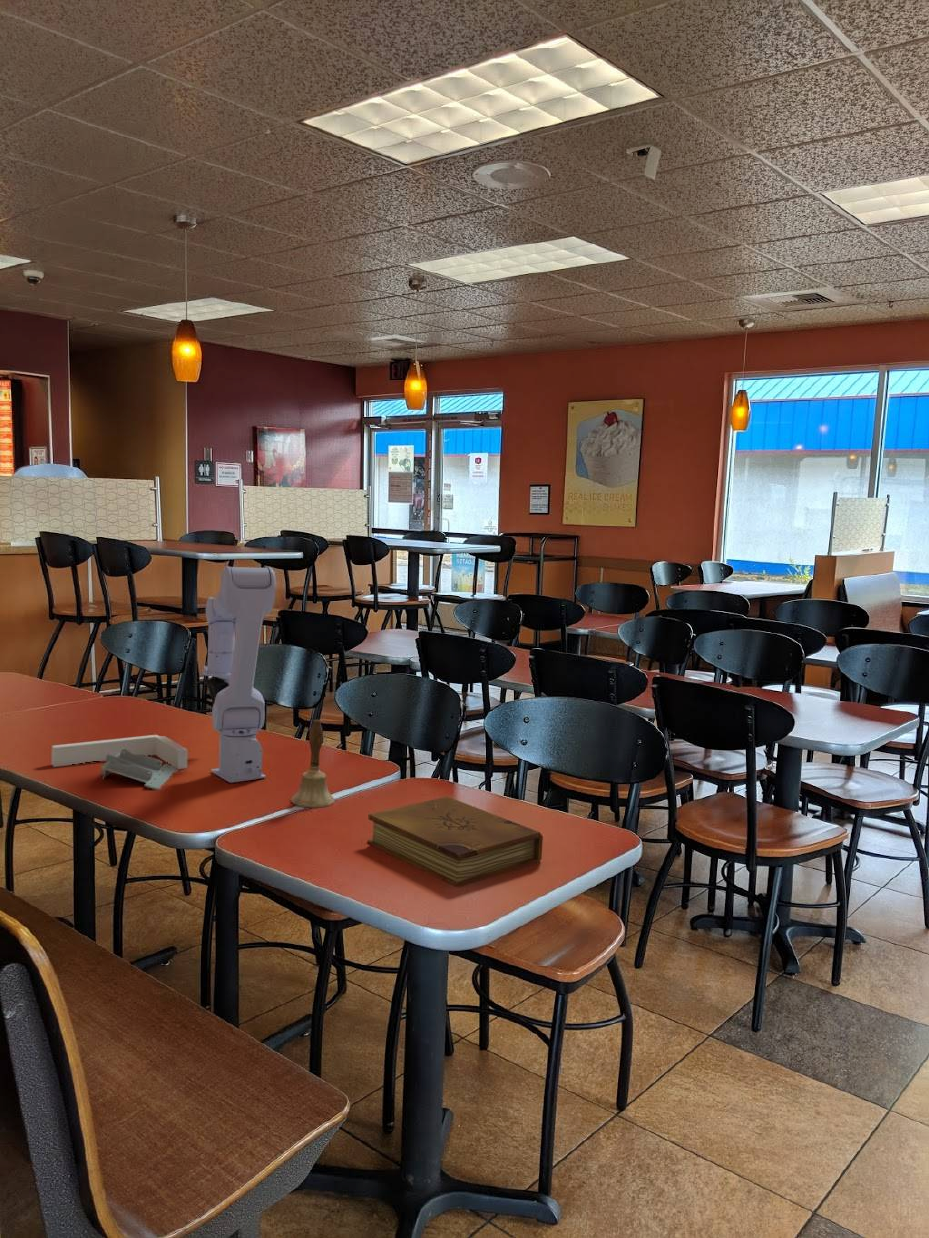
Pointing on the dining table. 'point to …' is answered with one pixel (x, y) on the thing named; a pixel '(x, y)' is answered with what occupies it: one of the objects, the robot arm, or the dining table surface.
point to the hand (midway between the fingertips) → (219, 711)
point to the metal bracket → (138, 768)
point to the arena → (135, 745)
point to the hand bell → (314, 776)
